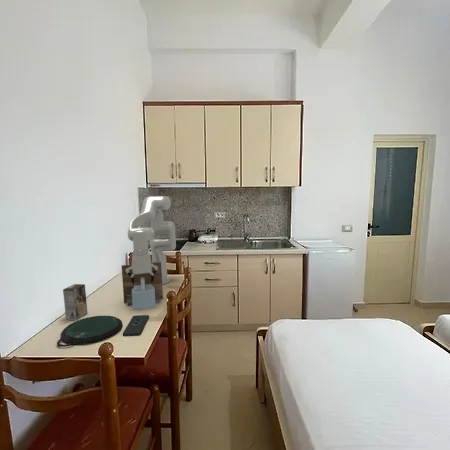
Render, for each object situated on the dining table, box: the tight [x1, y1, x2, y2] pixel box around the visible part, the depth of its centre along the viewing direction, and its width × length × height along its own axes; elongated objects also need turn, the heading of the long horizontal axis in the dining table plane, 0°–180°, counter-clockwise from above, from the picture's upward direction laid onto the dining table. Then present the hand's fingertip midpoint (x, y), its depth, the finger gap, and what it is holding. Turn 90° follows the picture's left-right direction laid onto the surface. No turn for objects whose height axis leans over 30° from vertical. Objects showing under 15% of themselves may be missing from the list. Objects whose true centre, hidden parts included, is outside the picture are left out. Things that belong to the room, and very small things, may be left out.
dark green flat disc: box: [56, 315, 123, 348], centre depth 143 cm, size 26×3×30 cm
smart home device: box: [122, 314, 150, 337], centre depth 148 cm, size 8×2×20 cm
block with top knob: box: [132, 277, 157, 311], centre depth 174 cm, size 12×12×16 cm
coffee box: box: [62, 283, 88, 321], centre depth 161 cm, size 9×6×16 cm
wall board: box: [121, 262, 164, 307], centre depth 178 cm, size 7×22×22 cm, turn 106°
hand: (142, 283), depth 171 cm, fingers open, 9 cm apart
